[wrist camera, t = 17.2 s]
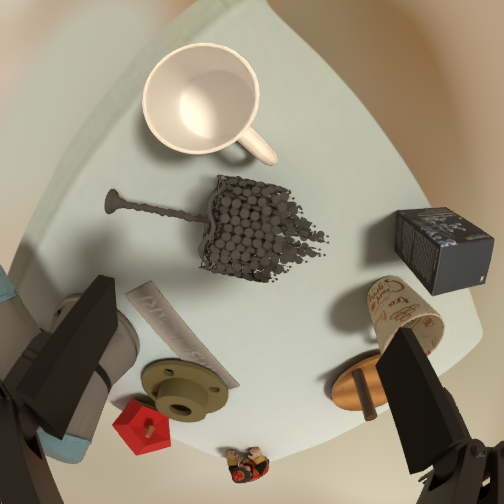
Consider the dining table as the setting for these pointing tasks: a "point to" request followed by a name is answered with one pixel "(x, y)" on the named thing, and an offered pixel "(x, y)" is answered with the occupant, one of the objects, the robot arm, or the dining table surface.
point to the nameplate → (175, 330)
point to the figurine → (247, 466)
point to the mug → (403, 314)
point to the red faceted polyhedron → (143, 428)
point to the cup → (204, 101)
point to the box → (443, 249)
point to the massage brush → (244, 228)
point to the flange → (184, 390)
